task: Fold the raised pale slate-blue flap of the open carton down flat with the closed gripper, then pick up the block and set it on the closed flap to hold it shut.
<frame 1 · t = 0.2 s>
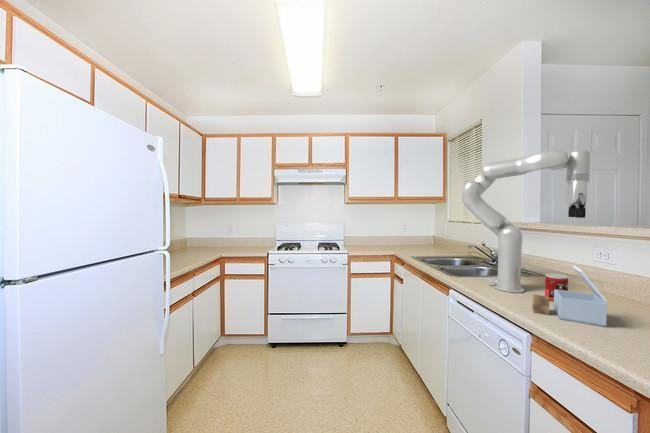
hand: (576, 217, 121), 37 cm above the worktop, tool pointing down, fingers open, 9 cm apart
flap: (588, 282, 99), point 13 cm above the worktop, hinge at 55.0°
carton: (577, 317, 100), on the worktop
canned food: (555, 300, 120), on the worktop
block: (540, 312, 105), on the worktop
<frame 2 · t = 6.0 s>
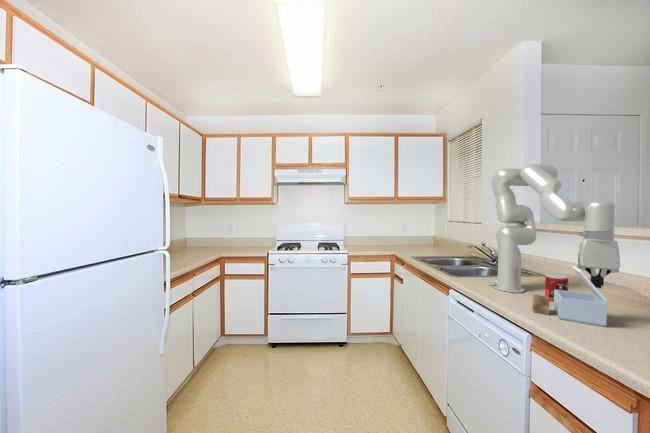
hand: (596, 287, 97), 12 cm above the worktop, tool pointing down, fingers closed
flap: (588, 282, 99), point 13 cm above the worktop, hinge at 54.0°, touching gripper
everything else where it was.
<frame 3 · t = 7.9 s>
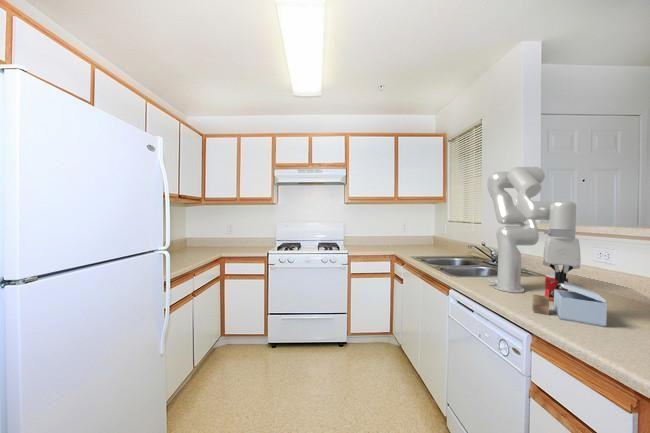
hand: (560, 282, 103), 12 cm above the worktop, tool pointing down, fingers closed
flap: (579, 290, 100), point 10 cm above the worktop, hinge at 17.0°, touching gripper
everything else where it was.
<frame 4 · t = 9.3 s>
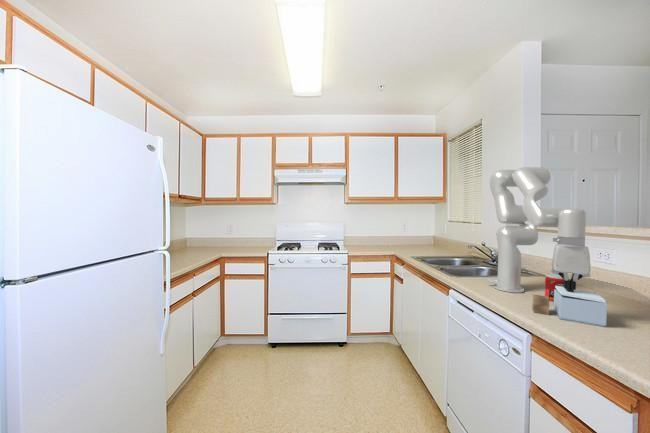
hand: (569, 290, 101), 10 cm above the worktop, tool pointing down, fingers closed
flap: (578, 293, 100), point 9 cm above the worktop, hinge at 3.6°, touching gripper
everything else where it was.
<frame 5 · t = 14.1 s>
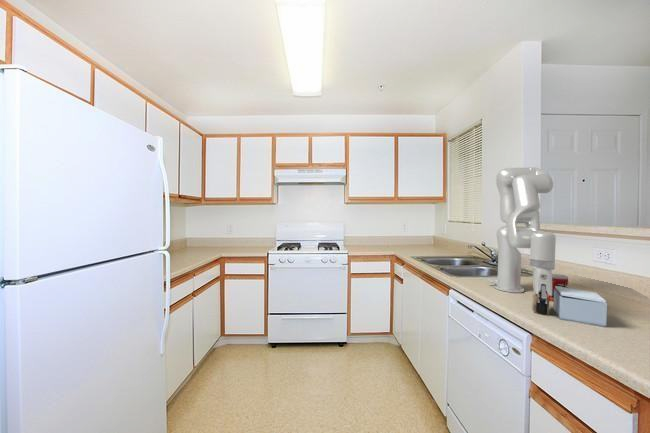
hand: (540, 310, 105), 1 cm above the worktop, tool pointing down, fingers closed on block, 4 cm apart
flap: (578, 293, 100), point 9 cm above the worktop, hinge at 2.9°
block: (540, 312, 105), on the worktop, touching gripper
everything else where it was.
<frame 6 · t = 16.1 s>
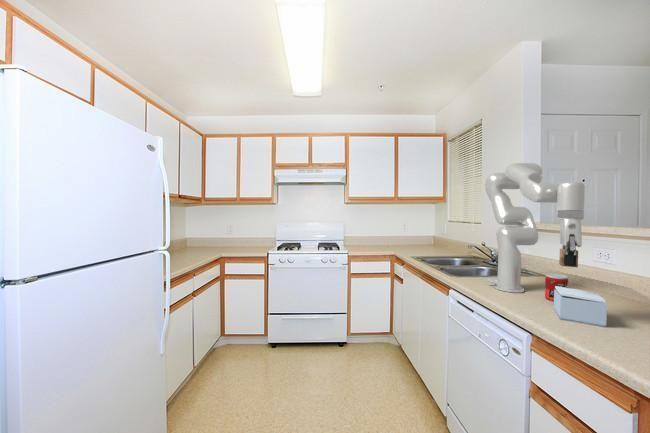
hand: (568, 264, 101), 20 cm above the worktop, tool pointing down, fingers closed on block, 4 cm apart
block: (568, 265, 101), point 19 cm above the worktop, touching gripper
everything else where it was.
when the fingers open (11 cm above the worktop, at t = 18.3 s): block drops 1 cm, resting on flap.
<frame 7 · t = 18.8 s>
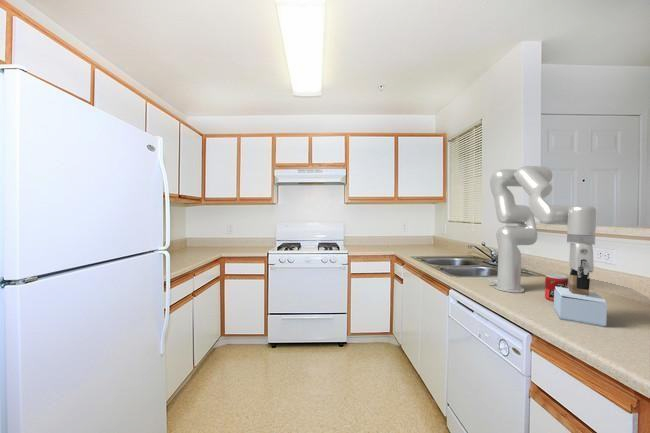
hand: (578, 285, 100), 12 cm above the worktop, tool pointing down, fingers open, 9 cm apart
flap: (578, 294, 100), point 9 cm above the worktop, hinge at 1.9°, touching block
block: (578, 293, 100), point 9 cm above the worktop, touching flap
everything else where it was.
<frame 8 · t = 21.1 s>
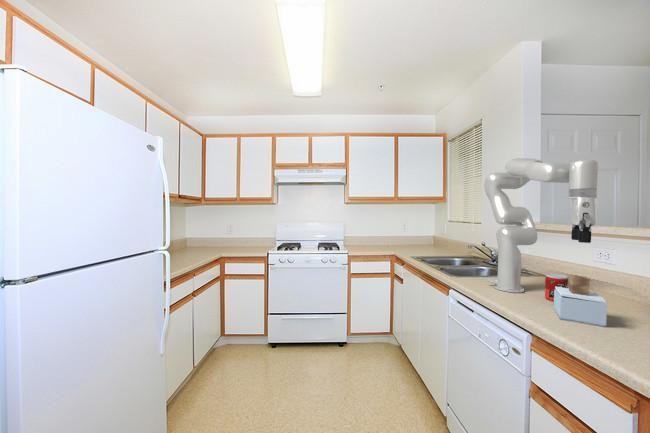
hand: (580, 241, 99), 28 cm above the worktop, tool pointing down, fingers open, 9 cm apart
nothing on the worktop moved.
at the end: flap at +2° (first picture: +55°); block inside the target area on the carton (0.0 cm from its centre), point 9.1 cm above the carton's base; block tilted 2° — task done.
